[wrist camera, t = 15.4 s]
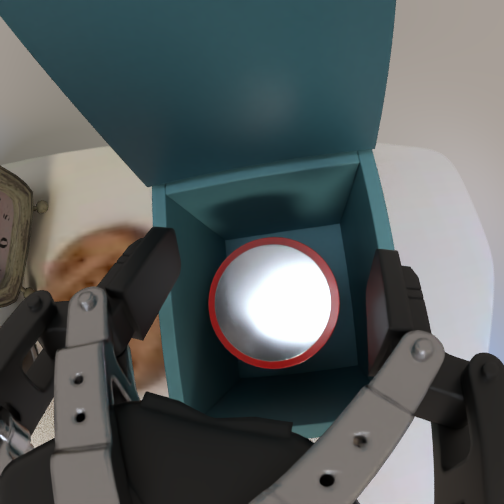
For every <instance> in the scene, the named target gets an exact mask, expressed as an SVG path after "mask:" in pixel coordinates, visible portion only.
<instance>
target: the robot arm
mask: <svg viewBox="0 0 504 504" xmlns="http://www.w3.org/2000/svg"><path fill="white" fill-rule="evenodd" d="M180 271H181V259H180V254H179V249H178V243H177V238H176V233H175V230H174V229H173V228H168V227H156V226H154V227H152V228H151V229H150V231H149V232H148V233H147V234H146V236H145V237H144V238H140V239H139V240H137V241H135V242H134V243H132V244H131V245H130V246H129V247H128V248H127V249H126V250H125V252H124V253H123V255H122V256H121V257H120V258H119V259H118V260H117V263H115V264H114V265H113V267H112V268H111V269H110V270H109V272H108V273H107V274H106V275H105V277H104V278H103V279H102V281H101V282H100V283H99V284H98V286H97V287H88V288H84V289H82V290H80V291H79V292H77V293H76V294H75V295H74V296H73V297H72V298H71V300H70V301H61V302H54V300H53V298H52V296H51V294H50V293H49V292H48V291H45V290H40V291H36V292H33V293H31V294H30V295H28V296H27V297H26V298H25V299H24V300H23V301H22V302H21V304H20V305H19V306H18V307H17V308H16V309H15V311H14V312H13V313H12V314H11V315H10V317H9V318H8V319H7V320H6V322H5V323H4V324H3V325H2V326H0V504H360V503H359V502H358V500H357V498H358V496H359V495H360V494H361V493H362V492H363V490H364V489H365V488H366V487H367V485H368V484H369V483H370V481H371V480H372V479H373V478H374V476H375V475H376V474H377V472H378V471H379V470H380V468H381V467H382V466H383V464H384V463H385V461H386V460H387V459H388V457H389V456H390V454H391V453H392V451H393V450H394V449H395V447H396V446H397V444H398V443H399V441H400V440H401V438H402V437H403V435H404V434H405V432H406V430H407V429H408V427H409V426H410V424H411V422H412V421H413V419H414V417H415V416H416V417H419V418H422V419H425V420H428V421H431V427H432V440H433V457H434V504H504V365H503V363H502V362H501V361H500V360H499V359H498V358H497V357H496V356H494V355H492V354H489V353H479V354H476V355H475V356H474V357H473V358H472V359H471V360H470V362H469V361H466V360H463V359H460V358H457V357H455V356H452V355H449V354H448V353H446V352H445V351H444V347H443V345H442V343H441V342H440V341H439V340H438V338H436V337H435V336H434V335H432V334H431V329H430V324H429V320H428V315H427V311H426V306H425V302H424V300H423V294H422V291H421V286H420V282H419V278H418V276H417V275H416V274H415V272H414V271H413V270H412V269H411V267H408V266H401V262H400V258H399V254H398V251H396V250H387V249H378V248H377V249H376V251H375V254H374V258H373V262H372V266H371V271H370V275H369V279H368V283H367V288H366V315H367V338H368V376H370V377H374V378H373V379H372V381H371V382H370V383H369V384H368V385H365V386H364V387H363V388H362V389H361V390H360V391H359V392H358V394H357V395H356V396H355V397H354V399H353V400H352V401H351V402H350V403H349V405H348V406H347V407H346V408H345V409H344V411H343V412H342V413H341V414H340V415H339V416H338V418H337V419H336V420H335V421H334V422H333V423H332V425H331V426H330V427H329V428H328V429H327V430H326V431H325V432H324V433H323V435H322V436H321V437H320V438H319V439H318V440H317V441H316V442H315V443H313V442H312V441H310V440H309V439H307V438H305V437H303V436H301V435H299V434H297V433H294V432H292V426H293V422H287V421H280V420H273V419H267V418H260V417H231V418H213V417H210V416H208V415H206V414H204V413H202V412H200V411H198V410H196V409H194V408H192V407H190V406H188V405H186V404H184V403H183V402H181V401H179V400H175V399H172V398H168V397H164V396H161V395H157V394H153V393H150V392H147V391H146V393H145V395H144V397H143V399H142V400H140V398H139V396H138V393H137V389H136V384H135V378H134V371H133V365H132V358H131V350H130V347H129V344H128V343H129V341H130V340H131V338H135V339H139V340H144V338H145V336H146V334H147V332H148V331H149V329H150V327H151V325H152V323H153V322H154V320H155V318H156V316H157V314H158V313H159V311H160V309H161V307H162V305H163V304H164V302H165V300H166V298H167V297H168V295H169V293H170V291H171V290H172V288H173V286H174V284H175V283H176V281H177V279H178V277H179V275H180ZM37 340H38V341H39V343H40V344H41V346H42V347H43V349H42V351H41V352H40V354H39V355H38V356H37V352H36V349H35V346H34V344H35V343H36V341H37ZM53 397H54V429H55V438H53V439H52V440H50V441H48V442H46V443H44V444H42V445H40V446H38V447H36V448H34V446H33V445H32V444H31V443H30V442H31V435H32V433H33V432H34V430H35V428H36V426H37V425H38V423H39V421H40V419H41V418H42V416H43V414H44V412H45V411H46V409H47V407H48V406H49V404H50V402H51V401H52V399H53Z"/></svg>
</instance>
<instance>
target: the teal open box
mask: <svg viewBox="0 0 504 504" xmlns="http://www.w3.org/2000/svg"><path fill="white" fill-rule="evenodd" d="M152 212H153V227H154V226H156V227H168V228H173V229H174V230H175V233H176V238H177V243H178V249H179V254H180V259H181V271H180V275H179V277H178V279H177V281H176V283H175V284H174V286H173V288H172V290H171V291H170V293H169V295H168V297H167V298H166V300H165V302H164V304H163V305H162V307H161V309H160V311H159V321H160V331H161V340H162V348H163V356H164V364H165V372H166V379H167V386H168V392H169V398H172V399H175V400H179V401H181V402H183V403H184V404H186V405H188V406H190V407H192V408H194V409H196V410H198V411H200V412H202V413H204V414H206V415H208V416H210V417H213V418H231V417H260V418H267V419H273V420H280V421H287V422H293V426H292V432H294V433H297V434H299V435H301V436H303V437H305V438H317V437H321V436H322V435H323V433H324V432H325V431H326V430H327V429H328V428H329V427H330V426H331V425H332V423H333V422H334V421H335V420H336V419H337V418H338V416H339V415H340V414H341V413H342V412H343V411H344V409H345V408H346V407H347V406H348V405H349V403H350V402H351V401H352V400H353V399H354V397H355V396H356V395H357V394H358V392H359V391H360V390H361V389H362V388H363V387H364V386H365V385H368V384H369V383H370V382H371V381H372V379H373V378H374V377H370V376H368V338H367V315H366V288H367V283H368V279H369V275H370V271H371V266H372V262H373V258H374V254H375V251H376V249H377V248H378V249H387V250H394V244H393V239H392V233H391V228H390V223H389V218H388V213H387V209H386V204H385V200H384V195H383V191H382V187H381V183H380V178H379V174H378V170H377V167H376V163H375V159H374V155H373V152H372V149H368V150H358V151H349V152H341V153H333V154H325V155H317V156H310V157H303V158H296V159H289V160H283V161H277V162H270V163H264V164H258V165H253V166H247V167H241V168H236V169H231V170H225V171H220V172H215V173H210V174H205V175H200V176H195V177H191V178H186V179H181V180H177V181H172V182H168V183H164V184H159V185H155V186H152ZM266 237H283V238H289V239H292V240H296V241H299V242H301V243H303V244H305V245H307V246H308V247H310V248H312V249H313V250H314V251H316V252H317V253H318V254H319V255H320V256H321V257H322V258H323V259H324V260H325V261H326V263H327V264H328V266H329V267H330V269H331V270H332V272H333V274H334V276H335V279H336V282H337V285H338V290H339V296H340V309H339V315H338V320H337V323H336V326H335V329H334V331H333V333H332V335H331V337H330V338H329V340H328V341H327V342H326V344H325V345H324V346H323V347H322V348H321V349H320V350H319V351H318V352H317V353H316V354H315V355H313V356H312V357H311V358H309V359H307V360H306V361H304V362H302V363H300V364H297V365H294V366H291V367H287V368H281V369H267V368H260V367H256V366H253V365H250V364H248V363H245V362H243V361H242V360H240V359H238V358H237V357H235V356H234V355H233V354H231V353H230V352H229V351H228V350H227V349H226V348H225V347H224V345H223V344H222V343H221V342H220V340H219V338H218V337H217V335H216V333H215V331H214V329H213V327H212V323H211V320H210V315H209V307H208V299H209V291H210V287H211V283H212V280H213V278H214V276H215V274H216V272H217V270H218V268H219V267H220V265H221V264H222V262H223V261H224V260H225V259H226V258H227V257H228V256H229V255H230V254H231V253H232V252H233V251H234V250H236V249H237V248H239V247H240V246H242V245H244V244H246V243H248V242H251V241H253V240H256V239H261V238H266Z"/></svg>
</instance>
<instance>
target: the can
mask: <svg viewBox="0 0 504 504" xmlns="http://www.w3.org/2000/svg"><path fill="white" fill-rule="evenodd" d="M208 307H209V315H210V320H211V323H212V327H213V329H214V331H215V333H216V335H217V337H218V338H219V340H220V342H221V343H222V344H223V345H224V347H225V348H226V349H227V350H228V351H229V352H230V353H231V354H233V355H234V356H235V357H237V358H238V359H240V360H242V361H243V362H245V363H248V364H250V365H253V366H256V367H260V368H267V369H281V368H287V367H291V366H294V365H297V364H300V363H302V362H304V361H306V360H307V359H309V358H311V357H312V356H313V355H315V354H316V353H317V352H318V351H319V350H320V349H321V348H322V347H323V346H324V345H325V344H326V342H327V341H328V340H329V338H330V337H331V335H332V333H333V331H334V329H335V326H336V323H337V320H338V315H339V309H340V296H339V290H338V285H337V282H336V279H335V276H334V274H333V272H332V270H331V269H330V267H329V266H328V264H327V263H326V261H325V260H324V259H323V258H322V257H321V256H320V255H319V254H318V253H317V252H316V251H314V250H313V249H312V248H310V247H308V246H307V245H305V244H303V243H301V242H299V241H296V240H292V239H289V238H283V237H266V238H261V239H256V240H253V241H251V242H248V243H246V244H244V245H242V246H240V247H239V248H237V249H236V250H234V251H233V252H232V253H231V254H230V255H229V256H228V257H227V258H226V259H225V260H224V261H223V262H222V264H221V265H220V267H219V268H218V270H217V272H216V274H215V276H214V278H213V280H212V283H211V287H210V291H209V299H208Z"/></svg>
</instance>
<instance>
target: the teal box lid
mask: <svg viewBox="0 0 504 504" xmlns="http://www.w3.org/2000/svg"><path fill="white" fill-rule="evenodd" d="M395 7H396V0H0V16H1V17H2V18H3V20H4V21H5V22H6V24H7V25H8V26H9V27H10V28H11V30H12V31H13V32H14V34H15V35H16V36H17V37H18V39H19V40H20V41H21V42H22V44H23V45H24V46H25V47H26V48H27V50H28V51H29V52H30V53H31V55H32V56H33V57H34V58H35V59H36V61H37V62H38V63H39V64H40V65H41V67H42V68H43V69H44V70H45V71H46V73H47V74H48V75H49V76H50V77H51V79H52V80H53V81H54V82H55V83H56V84H57V86H59V88H60V89H61V90H62V92H63V93H64V94H65V95H66V96H67V97H68V98H69V100H70V101H71V102H72V103H73V104H74V105H75V107H76V108H77V109H78V110H79V111H80V112H81V113H82V115H83V116H84V117H85V118H86V119H87V120H88V122H89V123H90V124H91V125H92V126H93V127H94V128H95V130H96V131H97V132H98V133H99V134H100V135H101V136H102V137H103V139H104V140H105V141H106V142H107V143H108V144H109V145H110V147H111V148H112V149H113V150H114V151H115V152H116V153H117V154H118V155H119V157H120V158H121V159H122V160H123V161H124V162H125V163H126V164H127V165H128V167H129V168H130V169H131V170H132V171H133V172H134V173H135V174H136V175H137V177H138V178H139V179H140V180H141V181H142V182H143V183H144V184H145V185H146V186H147V187H151V186H155V185H159V184H164V183H168V182H172V181H177V180H181V179H186V178H191V177H195V176H200V175H205V174H210V173H215V172H220V171H225V170H231V169H236V168H241V167H247V166H253V165H258V164H264V163H270V162H277V161H283V160H289V159H296V158H303V157H310V156H317V155H325V154H333V153H341V152H349V151H358V150H368V149H375V146H376V140H377V135H378V130H379V125H380V120H381V114H382V108H383V102H384V96H385V90H386V83H387V77H388V70H389V62H390V54H391V46H392V38H393V29H394V18H395Z"/></svg>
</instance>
